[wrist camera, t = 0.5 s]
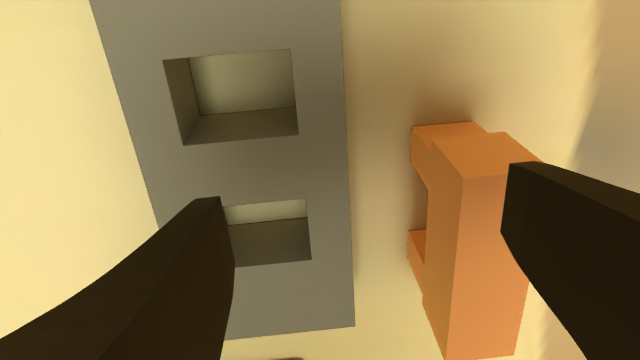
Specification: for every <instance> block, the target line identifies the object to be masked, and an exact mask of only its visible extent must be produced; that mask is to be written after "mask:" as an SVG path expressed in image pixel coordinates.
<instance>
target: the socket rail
mask: <svg viewBox="0 0 640 360" xmlns="http://www.w3.org/2000/svg"><path fill="white" fill-rule="evenodd" d="M89 2H90V5H91V8H92V12H93V15H94V18H95V22H96V25H97V28H98V31H99V35H100V38H101V41H102V44H103V48H104V51H105V54H106V57H107V61H108V64H109V67H110V71H111V74H112V77H113V80H114V84H115V87H116V90H117V93H118V97H119V100H120V103H121V106H122V110H123V113H124V116H125V120H126V123H127V126H128V129H129V133H130V136H131V139H132V142H133V146H134V149H135V152H136V155H137V159H138V162H139V165H140V169H141V172H142V175H143V178H144V182H145V185H146V188H147V191H148V195H149V198H150V201H151V204H152V208H153V211H154V214H155V217H156V221H157V224H158V227H159V229H161V228H162V227H163V226H164V225H165V224H166V223H167V222H169V221H170V220H171V219H172V218H173V217H174V216H175V215H176V214H177V213H178V212H180V211H181V210H182V209H183V208H184V207H185V206H186V205H188V204H189V203H190V202H191V201H193V200H194V199H197V198H206V197H214V196H220V198H221V202H222V207H224V206H234V205H244V204H254V203H264V202H274V201H284V200H295V199H305V198H306V206H307V216H308V218H300V219H290V220H280V221H270V222H260V223H250V224H240V225H230V226H227V228H228V233H229V237H230V241H231V246H232V250H233V254H234V259H235V276H234V289H233V299H232V304H231V309H230V314H229V319H228V324H227V328H226V333H225V338H224V340H233V339H242V338H251V337H261V336H270V335H279V334H289V333H298V332H307V331H317V330H326V329H335V328H345V327H354V326H355V308H354V287H353V266H352V245H351V224H350V202H349V181H348V160H347V139H346V118H345V96H344V75H343V54H342V33H341V12H340V0H89ZM278 49H290V52H291V62H292V71H293V81H294V91H295V100H296V107H290V108H279V109H268V110H257V111H247V112H236V113H225V114H214V115H203V116H200V113H199V108H198V103H197V99H196V94H195V90H194V85H193V81H192V76H191V71H190V67H189V62H188V57H200V56H211V55H222V54H233V53H245V52H256V51H267V50H278Z"/></svg>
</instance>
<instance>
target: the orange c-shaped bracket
mask: <svg viewBox="0 0 640 360" xmlns="http://www.w3.org/2000/svg"><path fill="white" fill-rule="evenodd" d="M410 161H411V163H412V164H413V166H414V168H415V169H416V171H417V172H418V174H419V176H420V177H421V179H422V181H423V182H424V184H425V185H426V187H427V189H428V190H429V191H428V209H427V227H426V229H423V230H413V231H408V260H409V262H410V265H411V267H412V270H413V272H414V275H415V277H416V280H417V282H418V285H419V287H420V289H421V292H422V294H423V300H422V305H423V307H424V310H425V312H426V315H427V317H428V320H429V322H430V325H431V327H432V330H433V332H434V335H435V338H436V340H437V343H438V345H439V348H440V350H441V353H442V355H443V358H444V360H475V359H485V358H494V357H503V356H512V355H514V352H515V347H516V342H517V338H518V333H519V328H520V323H521V318H522V314H523V309H524V304H525V299H526V294H527V290H528V285H529V279H528V278H527V277H526V275H525V274H524V273H523V271H522V270H521V268H520V267H519V266H518V264H517V263H516V261H515V259H514V257H513V255H512V254H511V252H510V250H509V248H508V246H507V244H506V242H505V240H504V238H503V236H502V235H501V233H500V229H501V221H502V214H503V206H504V199H505V191H506V184H507V176H508V169H509V163H518V162H527V161H537V162H542V161H541V160H540V159H538V158H537V157H536V156H535V155H533V154H532V153H531V152H529V151H528V150H527V149H526V148H524V147H523V146H522V145H520V144H519V143H518V142H517V141H515V140H514V139H513V138H512V137H510V136H509V135H508V134H506V133H505V132H497V133H487V132H486V131H485V130H484V129H483V128H481V127H480V126H479V125H478V124H477V123H476V122H474V121H468V122H457V123H447V124H436V125H425V126H415V127H411V159H410ZM542 163H543V162H542Z"/></svg>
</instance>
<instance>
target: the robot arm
mask: <svg viewBox="0 0 640 360" xmlns="http://www.w3.org/2000/svg"><path fill="white" fill-rule="evenodd" d="M500 233H501V235H502V236H503V238H504V240H505V242H506V244H507V246H508V248H509V250H510V252H511V254H512V255H513V257H514V259H515V261H516V263H517V264H518V266H519V267H520V268H521V270H522V271H523V273H524V274H525V275H526V277H527V278H528V279H529V281H530V282H531V284H532V285H533V286H534V288H535V289H536V290H537V292H538V293H539V294H540V296H541V297H542V298H543V300H544V301H545V302H546V304H547V305H548V306H549V307H550V309H551V310H552V311H553V313H554V314H555V315H556V317H557V318H558V319H559V321H560V322H561V323H562V325H563V326H564V327H565V329H566V330H567V331H568V333H569V334H570V335H571V337H572V338H573V339H574V341H575V342H576V344H577V345H578V347H579V348H580V349H581V351H582V352H583V354H584V355H585V357H586V359H587V360H640V194H639V193H636V192H633V191H630V190H627V189H623V188H620V187H617V186H614V185H611V184H608V183H605V182H602V181H600V180H596V179H593V178H591V177H587V176H584V175H582V174H579V173H576V172H573V171H570V170H567V169H563V168H560V167H557V166H554V165H550V164H546V163H542V162H537V161H527V162H518V163H509V169H508V176H507V184H506V191H505V199H504V206H503V214H502V221H501V229H500ZM234 276H235V259H234V254H233V250H232V246H231V241H230V237H229V233H228V228H227V224H226V220H225V215H224V211H223V207H222V202H221V198H220V196H214V197H206V198H197V199H194V200H193V201H191V202H190V203H189V204H188V205H186V206H185V207H184V208H183V209H182V210H181V211H180V212H178V213H177V214H176V215H175V216H174V217H173V218H172V219H171V220H170V221H169V222H167V223H166V224H165V225H164V226H163V227H162V228H161V229H159V230H158V231H157V232H156V233H155V234H154V235H153V236H152V237H150V238H149V239H148V240H147V241H146V242H145V243H143V244H142V245H141V246H140V247H139V248H137V249H136V250H135V251H134V252H132V253H131V254H130V255H129V256H127V257H126V258H125V259H124V260H122V261H121V262H120V263H119V264H117V265H116V266H115V267H114V268H112V269H111V270H110V271H108V272H107V273H106V274H104V275H103V276H102V277H100V278H99V279H97V280H96V281H95V282H93V283H92V284H90V285H89V286H87V287H86V288H84V289H83V290H81V291H80V292H78V293H77V294H75V295H74V296H72V297H71V298H69V299H68V300H66V301H65V302H63V303H62V304H60V305H58V306H56V307H55V308H53V309H51V310H50V311H48V312H46V313H45V314H43V315H41V316H39V317H38V318H36V319H34V320H33V321H31V322H29V323H27V324H26V325H24V326H22V327H21V328H19V329H17V330H15V331H14V332H12V333H10V334H8V335H6V336H5V337H3V338H1V339H0V360H220V356H221V352H222V347H223V342H224V338H225V333H226V328H227V324H228V319H229V314H230V309H231V304H232V299H233V289H234Z"/></svg>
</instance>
